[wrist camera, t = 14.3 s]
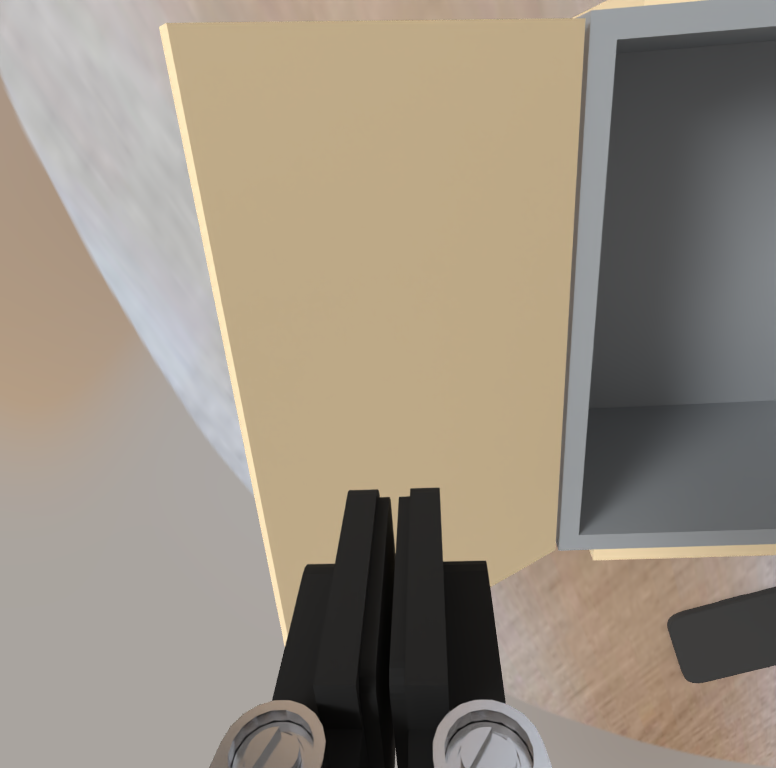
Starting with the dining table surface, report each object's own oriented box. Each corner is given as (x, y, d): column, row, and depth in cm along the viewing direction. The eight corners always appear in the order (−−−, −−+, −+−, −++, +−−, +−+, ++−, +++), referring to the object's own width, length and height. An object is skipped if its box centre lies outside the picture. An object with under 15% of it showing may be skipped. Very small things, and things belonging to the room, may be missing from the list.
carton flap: (585, 18, 18) (569, 21, 18) (165, 22, 12) (159, 27, 12) (555, 549, 26) (544, 542, 26) (299, 696, 20) (292, 682, 21)
